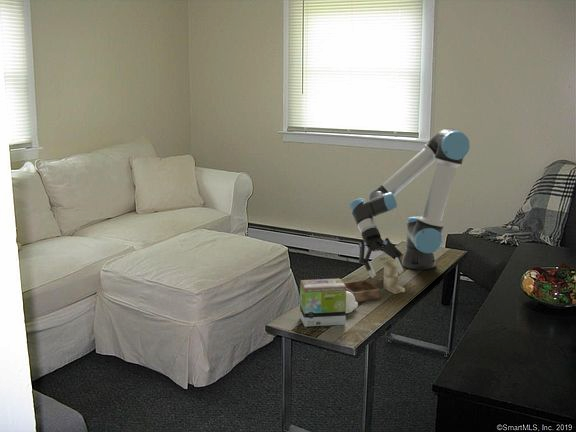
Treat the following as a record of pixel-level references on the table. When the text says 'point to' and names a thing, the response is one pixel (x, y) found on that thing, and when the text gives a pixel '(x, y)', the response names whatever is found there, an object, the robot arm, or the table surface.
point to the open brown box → (363, 290)
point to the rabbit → (350, 302)
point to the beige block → (392, 278)
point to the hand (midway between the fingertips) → (387, 274)
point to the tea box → (322, 302)
